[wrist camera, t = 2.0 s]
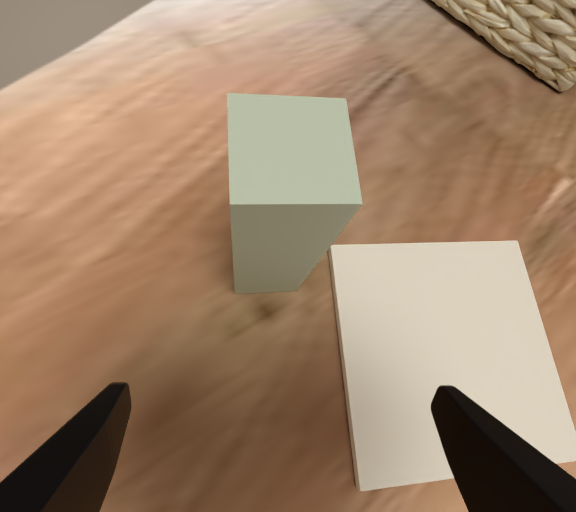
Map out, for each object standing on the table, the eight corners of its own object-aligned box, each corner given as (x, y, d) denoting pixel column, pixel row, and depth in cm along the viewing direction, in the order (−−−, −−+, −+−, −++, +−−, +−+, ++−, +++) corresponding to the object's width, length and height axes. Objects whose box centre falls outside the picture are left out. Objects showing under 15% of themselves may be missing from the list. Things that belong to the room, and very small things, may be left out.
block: (234, 294, 24) (229, 204, 11) (233, 235, 25) (227, 93, 12) (296, 291, 25) (362, 203, 12) (291, 234, 26) (345, 98, 13)
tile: (356, 487, 21) (360, 491, 20) (327, 248, 26) (330, 245, 25) (573, 456, 24) (583, 459, 23) (510, 244, 29) (517, 240, 28)
